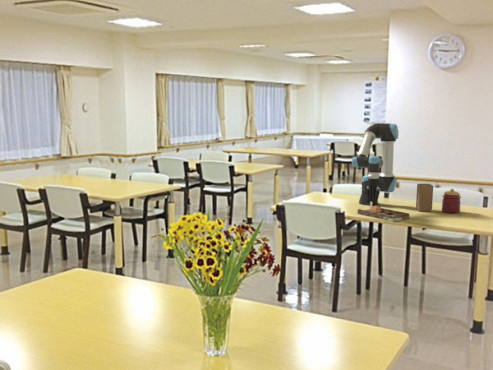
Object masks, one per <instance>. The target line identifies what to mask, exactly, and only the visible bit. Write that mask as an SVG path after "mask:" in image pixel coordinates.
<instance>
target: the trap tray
mask: <svg viewBox="0 0 493 370" xmlns="http://www.w3.org/2000/svg"><path fill="white" fill-rule="evenodd" d="M357 215H361V216H365V217H371V218H374V219H379V220H384V221H389V222H391V223H393V222H399V221H403V220H408V219H410V213H408V212H404V211H399V210H394V209H389V208H385V207H384V208H383V207H381V212H380V213H375V212H370V208H368V209H361V208H357Z"/></svg>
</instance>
